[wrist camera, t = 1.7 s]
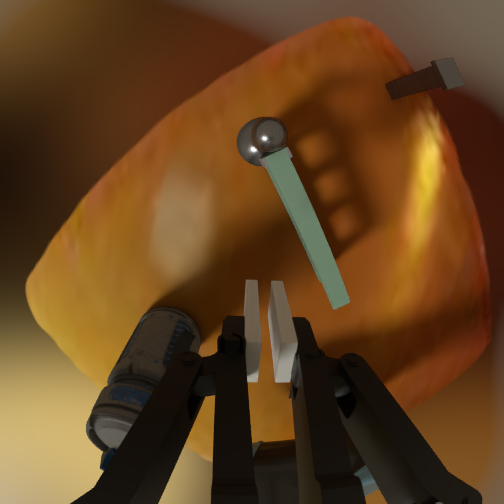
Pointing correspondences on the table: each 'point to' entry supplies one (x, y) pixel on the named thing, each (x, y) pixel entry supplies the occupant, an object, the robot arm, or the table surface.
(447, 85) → the post
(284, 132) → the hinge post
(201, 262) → the table surface
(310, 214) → the gate
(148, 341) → the beverage bottle
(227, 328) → the robot arm
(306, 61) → the table surface
